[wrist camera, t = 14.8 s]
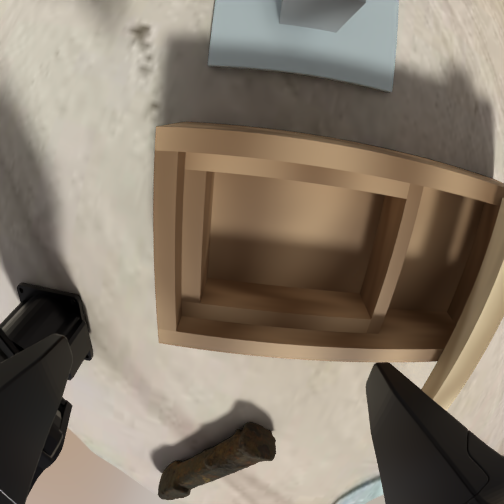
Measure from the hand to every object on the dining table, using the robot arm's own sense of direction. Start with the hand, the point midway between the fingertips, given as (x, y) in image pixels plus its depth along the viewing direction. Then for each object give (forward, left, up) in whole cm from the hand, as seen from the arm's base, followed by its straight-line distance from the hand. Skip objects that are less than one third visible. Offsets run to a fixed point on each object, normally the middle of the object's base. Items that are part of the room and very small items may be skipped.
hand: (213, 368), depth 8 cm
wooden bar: (+14, -3, -6) cm, 15 cm away
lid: (+2, +13, -12) cm, 18 cm away
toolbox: (+6, 0, -12) cm, 13 cm away
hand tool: (-1, -27, -12) cm, 30 cm away
